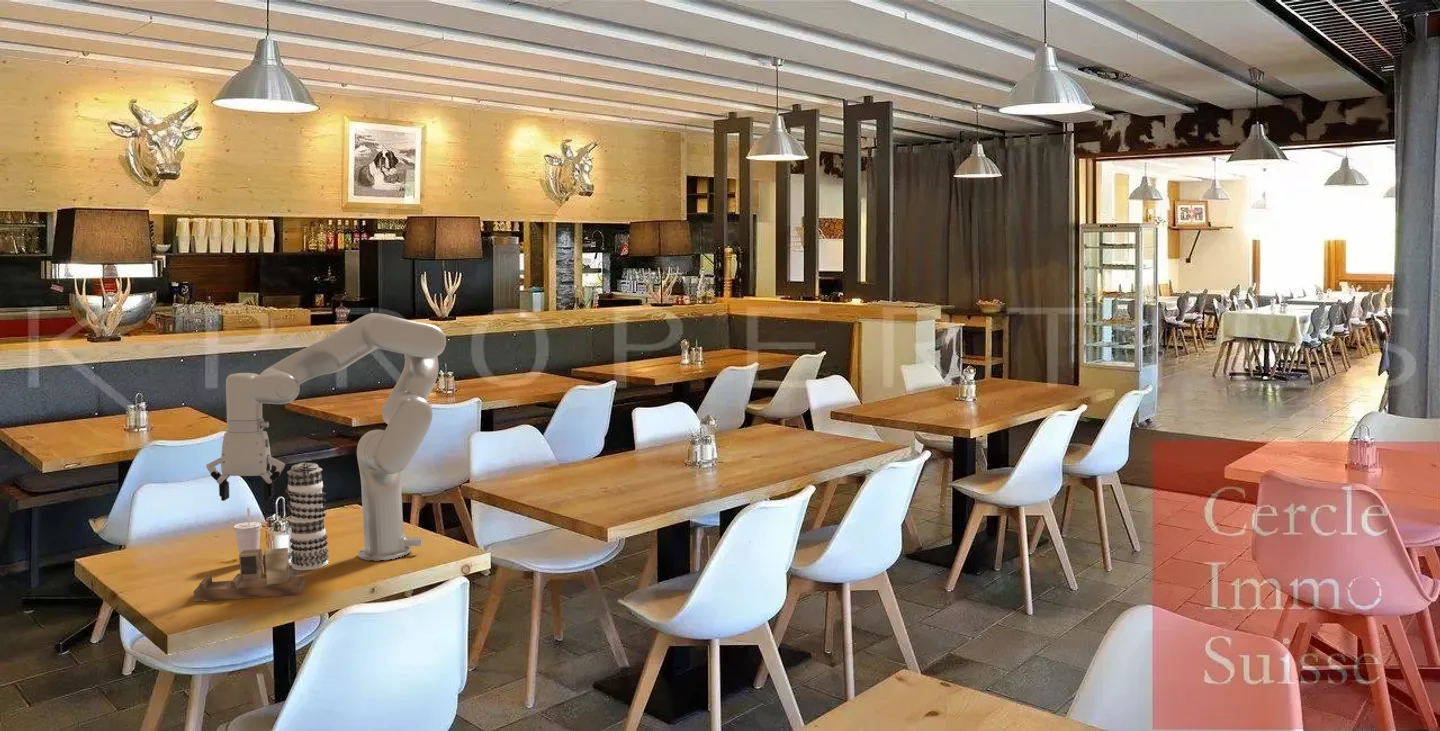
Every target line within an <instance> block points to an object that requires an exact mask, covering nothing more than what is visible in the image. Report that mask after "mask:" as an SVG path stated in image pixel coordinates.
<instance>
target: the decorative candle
mask: <svg viewBox="0 0 1440 731" xmlns="http://www.w3.org/2000/svg"><path fill="white" fill-rule="evenodd" d="M322 471H323V468H321V467H320V466H319V464H317V463H315V462H300V463H299V462H298V463H295V464H293V465H292V466H291V468H289V470H287V472H286V473H287V480H288V481H287V482H288V484H287V487H286V488H285V490H284V492H285V493H286V495H285V499H286V500H287V504H286V507H287V510H286V512H287V514H288V515H289V518H288V521H289V522H290V528H291V531H290V539H289V542H290V543H291V544H290V547H289V548H290V549H291V550H292V551H290V554H289V555H290V556H291V560H290V563H292V565H291V568H292V569H293V570H295V571H310V570H311V571H312V570H316V569H321V568H324V567H326V566H328V565H329V563H328V562H329V555H328V552H329V549H328V547H327V545H328V543H329V542H328V541H327V539H328V535H327V534H326V527H325V518H326V516H327V513H325V512H326V510H327V507H326V506H323V504H325V503H326V502H327V499H326V498H324V497H326V495H327V493H326V492H324V491H323V489H324V488H325V487H326V485H325V484H323V483H324V482H323V480H322V476H323V475H322ZM327 564H328V565H327ZM325 565H326V566H325ZM323 566H324V567H323Z"/></svg>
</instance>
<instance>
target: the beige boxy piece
mask: <svg viewBox="0 0 1440 731" xmlns="http://www.w3.org/2000/svg"><path fill="white" fill-rule="evenodd" d="M238 557H239V558H238V559H239V574H240V573H243V580H246V579H261V578H264V567H263V550H262V548H259V549H252V550H243V551H242V552H241V553H239V555H238Z"/></svg>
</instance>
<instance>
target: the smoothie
mask: <svg viewBox="0 0 1440 731" xmlns="http://www.w3.org/2000/svg"><path fill="white" fill-rule="evenodd" d="M246 512H247V514H246V515H247V521H246V522H241V523H236V524H235V525H234V526H233V528H232V529H233V532H234V533H235V538H236V542H237V548H238V552H239V554H240V553H241V552H242V551H243V550H252V549H260V540H261V529H262V527H263V526H262V523H261V522H259V521H251V512H250V507H247V508H246Z"/></svg>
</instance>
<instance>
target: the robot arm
mask: <svg viewBox="0 0 1440 731" xmlns="http://www.w3.org/2000/svg"><path fill="white" fill-rule="evenodd" d="M446 345H447V337H446V334H445V333H444V331H443V330H442V329H441V328H439V327H438V326H436V325H435V324H431V323H424V322H421V321H420V322H419V321H415V320H410V319H405V318H401V317H397V316H394V315H389V314H385V313H379V312H378V313H377V312H373V313H372V312H371V313H368V314H367V313H366V314H364V315H363V316H361V317H359V318H357V319H356V320H354V321H352V322H350V323H349V324H347V325H345V326H344V327H342V328H341V329H340V328H339V330H337V331H335V332H334V333H332V334H330V335H328V336H326V337H325V338H323V339H321V340H320V341H317V342H315V343H313V344H310V345H309V346H307V347H305V348H303V349H301V350H298V351H296V352H294V353H292V354H290V355H288V356H286V357H284V358H283V359H280V360H279V361H277V362H275V363H274V364H272V365H271V366H268V367H267V368H265V369H264V370H262V372H261V373H259V374H258V373H254V372H238V373H237V372H236V373H231V374H229V375H228V376H226V379H225V395H226V396H225V398H226V405H225V406H226V429H227V430H226V432H224V434H223V439H222V445H221V446H222V447H221V456H220V457H219V458H216V459H215V460H213V461H210V462H209V463H207V464H206V466H205V467H206V469H207V470H208V472H209V473H210V476H211V478H212V479H214V480H215V481H216V484H218V492H219V494H218V495H219V497H220V498H221V501H222V502H224V501H227V500H228V499H229V498H230V482H229V481H228V479H229V478H230V477H233V476H234V477H247V476H248V477H255V476H256V477H257V476H258V477H259V476H260V477H261V478H262V479H263V480H264V481H265V483H264V484H263V493H264V495H263V496H264V501H266V502H267V501H270V500H272V498H273V496H274V494H275V489H274V487H275V485H274V484H275V483H274V482H275V481H276V480H277V479H278V478H279V477H280V476H281V475H282V472H283V470H284V469H285V467H286V463H284V462H283V461H281V460H278V459H276V458H274V457H273V456H272V455H271V454H272V453H271V447H270V441H269V435H268V432H267V431H265V430H264V429H266V428H269V427H270V422H269V421H265V420H264V418H263V404H273V405H285V404H289V403H291V402H293V401H294V400H296V399H297V397H298V396H299V394H300V385H302V384H303V383H306V382H307V381H310V380H311V379H314V378H317V377H320V376H324V375H330V374H334V373H338V372H340V371H342V370H345V369H346V368H347V367H349V366H351V365H352V364H354V363H356V362H357V361H359V360H360V359H362V358H364V357H365V356H367V355H369V354H370V353H372V352H374V351H375V350H377V349H380V350H384V351H388V352H392V353H397V354H402V355H404V365H403V366H404V367H403V370H402V372H401V374H400V376H399V378H398V380H397V382H396V383H395V386H394V387H393V389H392V390H391V392H390V394H389V395H388V397H387V399H386V400H385V402H384V404H383V407H382V409H381V410H382V411H381V416H382V419H383V421H384V422H385V424H387V426H386V428H385V430H383V429H372V430H369V431H367V432H366V433H365V434H363V435H362V436H361V438H360V439H359V441H358V443H357V447H356V458H357V464H358V469H359V475H360V476H359V477H360V486H361V488H360V489H361V502H362V504H361V505H362V506H361V507H362V523H363V524H362V525H363V542H364V547H363V548H361V549H360V550H359V551H358V558H359V559H362V560H363V559H364V560H365V561H369V560H374V561H373V562H377V561H378V562H381V561H380V560H384V561H390V559H392V560H396V559H395V558H397V559H399V558H398V557H400V558H403V557H405V556H404V555H406V556H407V554H408V553H409V552H410V551H412V548H411V547H422V546H423V539H422V538H421V537H420V538H419V537H418V536H415V537H414V536H413V537H409V536H407V532H404V519H403V518H404V517H403V500H402V499H403V498H402V493H403V492H402V491H403V490H402V480H401V473H400V472H402V471H403V470H405V469H406V468H407V467H408V465H409V464H410V463H411V462H412V460H413V458H414V457H415V455H416V454H417V451H418V449H419V447H420V446H421V445H422V442H423V441H424V438H425V437H426V435H427V433H428V431H429V429H430V427H431V425H432V421H433V409H432V406H431V405H430V403H429V402H428V401H427V400H428V399H429V397H430V395H431V393H432V390H433V389H434V386H435V384H436V383H437V379H438V376H439V369H440V368H439V359H438V356H440V355H442V353H443V352H444V351H445V349H446ZM218 465H220V468H221V470H220V471H221V473H220V472H219V471H218V470H217V468H216V467H217V466H218ZM272 466H275V471H274V472H273V473H272V472H271V470H272ZM410 553H411V552H410ZM410 553H409V554H410ZM409 554H408V555H409ZM402 556H403V557H402Z"/></svg>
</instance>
